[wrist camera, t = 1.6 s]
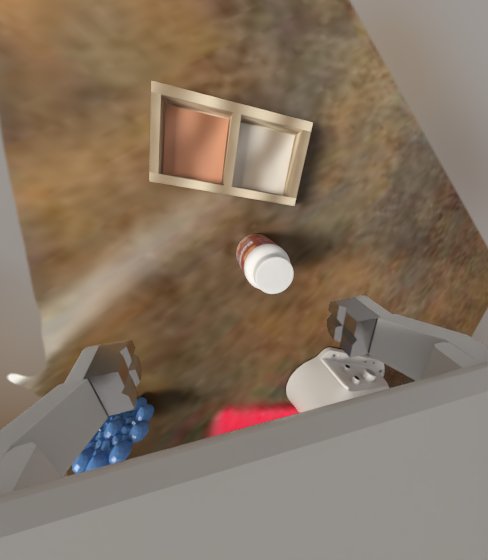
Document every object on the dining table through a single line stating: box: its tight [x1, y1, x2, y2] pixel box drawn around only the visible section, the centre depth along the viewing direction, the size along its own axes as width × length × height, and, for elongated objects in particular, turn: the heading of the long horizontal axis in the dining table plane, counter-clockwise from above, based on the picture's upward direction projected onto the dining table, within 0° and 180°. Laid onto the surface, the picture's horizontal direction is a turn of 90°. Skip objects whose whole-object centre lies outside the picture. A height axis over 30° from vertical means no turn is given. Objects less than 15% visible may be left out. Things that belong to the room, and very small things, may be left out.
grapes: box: [72, 397, 154, 473], centre depth 38 cm, size 12×7×12 cm, turn 102°
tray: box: [149, 81, 313, 206], centre depth 30 cm, size 19×10×4 cm, turn 81°
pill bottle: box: [236, 234, 294, 294], centre depth 32 cm, size 6×6×11 cm
